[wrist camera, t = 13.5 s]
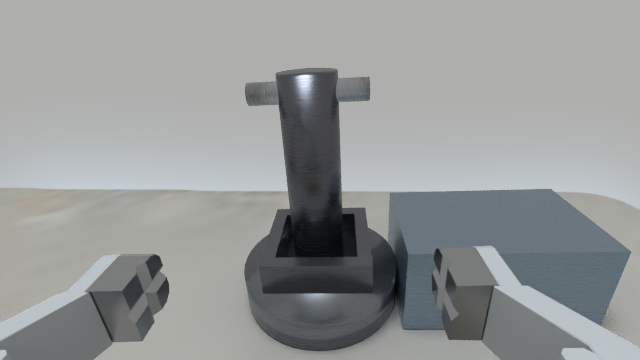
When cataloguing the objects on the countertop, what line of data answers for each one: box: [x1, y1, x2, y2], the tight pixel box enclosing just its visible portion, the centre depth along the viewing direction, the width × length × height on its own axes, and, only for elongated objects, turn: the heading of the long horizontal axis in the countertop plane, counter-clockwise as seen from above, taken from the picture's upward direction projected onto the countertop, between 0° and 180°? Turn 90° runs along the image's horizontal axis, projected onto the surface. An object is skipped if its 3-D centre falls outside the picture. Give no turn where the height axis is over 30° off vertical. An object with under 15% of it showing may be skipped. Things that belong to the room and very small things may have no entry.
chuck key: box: [245, 68, 370, 257], centre depth 20 cm, size 6×3×12 cm, turn 87°
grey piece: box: [244, 189, 631, 351], centre depth 22 cm, size 21×10×6 cm, turn 87°
